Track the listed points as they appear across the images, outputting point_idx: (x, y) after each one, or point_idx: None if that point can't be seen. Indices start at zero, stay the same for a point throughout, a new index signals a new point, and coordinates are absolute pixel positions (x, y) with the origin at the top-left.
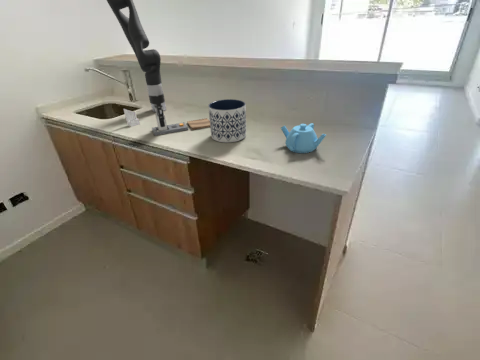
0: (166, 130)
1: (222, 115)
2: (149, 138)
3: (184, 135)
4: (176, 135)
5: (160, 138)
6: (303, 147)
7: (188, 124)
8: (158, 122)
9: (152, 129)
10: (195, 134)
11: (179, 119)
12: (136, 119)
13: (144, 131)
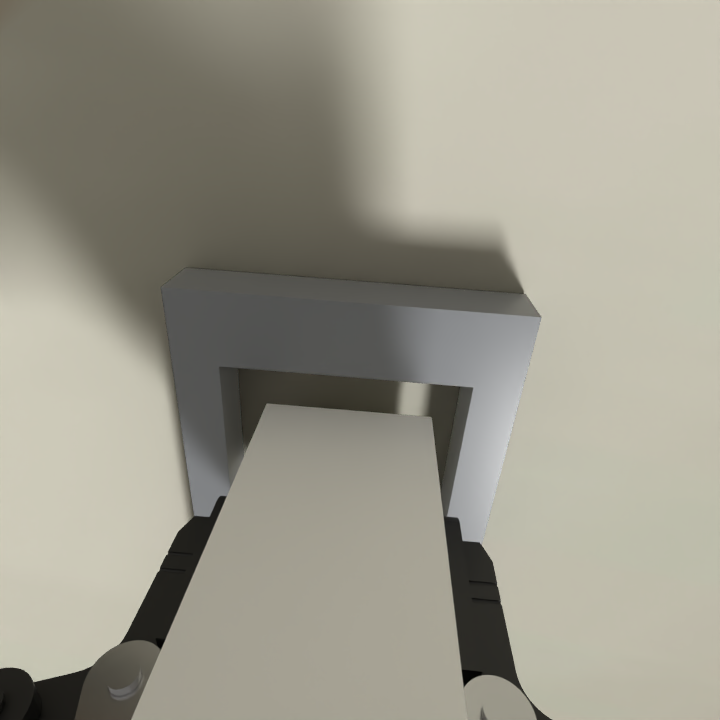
0: (209, 501)
1: None
2: (60, 139)
3: (55, 598)
4: (82, 537)
5: (12, 332)
6: None
7: None
8: (207, 560)
9: (404, 306)
10: (56, 672)
11: (690, 701)
12: None
13: (579, 108)
